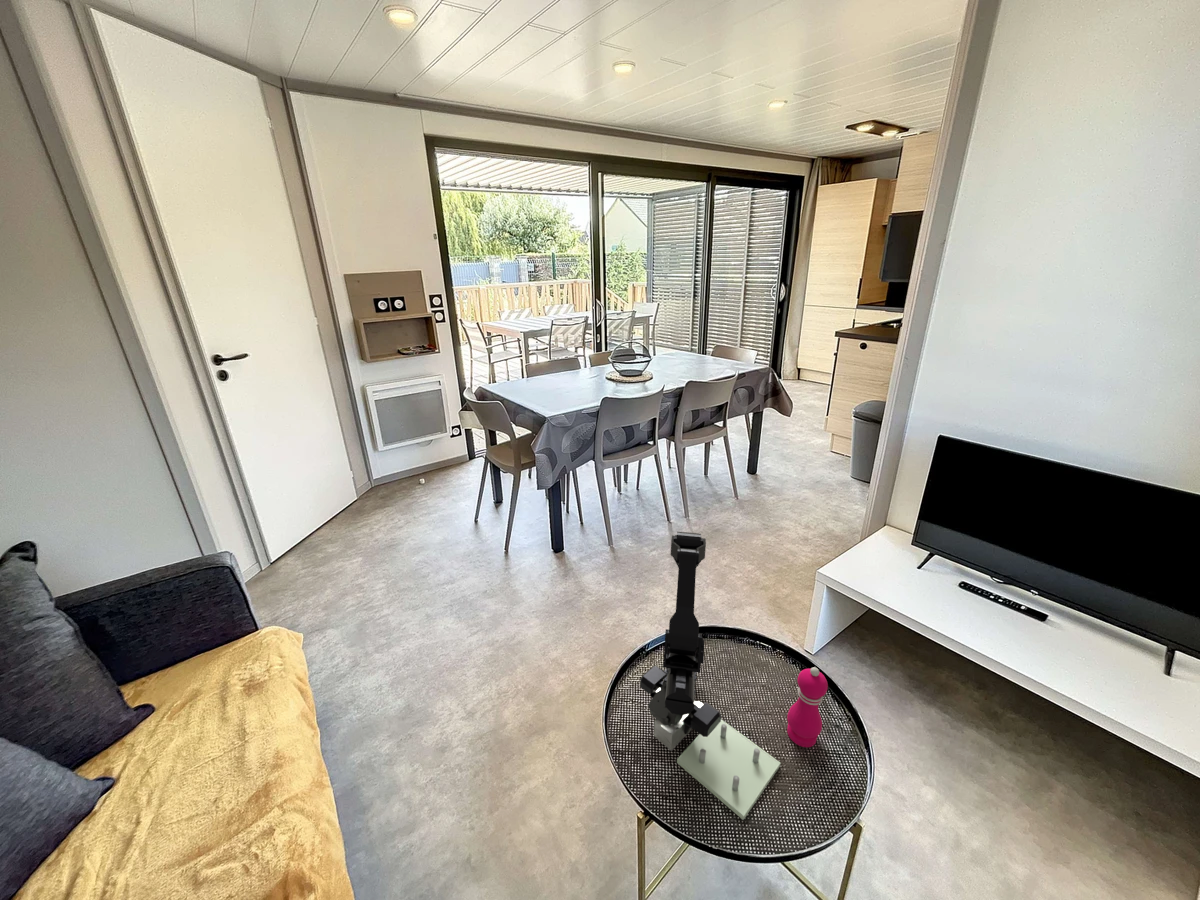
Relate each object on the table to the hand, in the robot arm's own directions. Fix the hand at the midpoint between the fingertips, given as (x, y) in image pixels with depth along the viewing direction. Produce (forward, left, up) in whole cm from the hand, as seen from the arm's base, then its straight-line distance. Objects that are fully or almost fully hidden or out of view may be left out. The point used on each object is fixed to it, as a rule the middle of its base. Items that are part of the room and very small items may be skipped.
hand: (677, 725), depth 111 cm
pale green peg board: (+13, +1, -1) cm, 13 cm away
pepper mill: (+21, +19, -1) cm, 28 cm away
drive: (0, 0, -1) cm, 1 cm away
